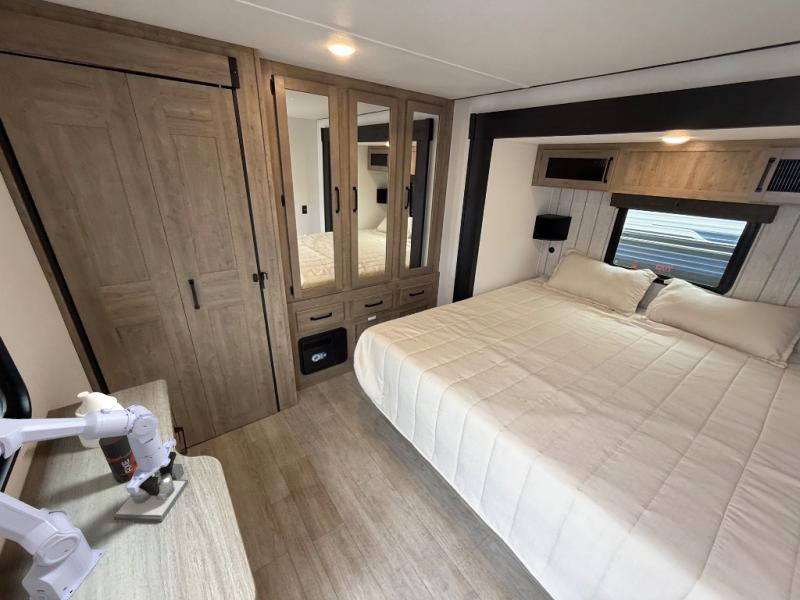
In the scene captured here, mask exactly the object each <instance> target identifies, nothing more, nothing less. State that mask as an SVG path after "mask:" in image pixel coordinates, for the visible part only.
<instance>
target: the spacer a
mask: <svg viewBox="0 0 800 600" xmlns="http://www.w3.org/2000/svg"><path fill="white" fill-rule="evenodd" d="M129 494H130V496H131V497H132V499H133V502H134V503H135V504H141V503H143V502H146V501H147V500H148V499H150V498H151V497H152V496H150V495H149V494H148V493H147V492H146V491H144V490H143V489H141V488H139V490H138V492H137V493H129Z"/></svg>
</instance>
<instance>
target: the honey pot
mask: <svg viewBox="0 0 800 600" xmlns="http://www.w3.org/2000/svg"><path fill="white" fill-rule="evenodd" d="M77 398H78V399H79V400H83V401H82V403H81V405H80V406H79V407H78V408H77V409H76V410H75V412H74V414H75V418H82V417H84V416H85V415H87V414H88V413H90V412H93V411H100V410H101V409H102V408H108V409H109V410H110V411H111V410H124V409H125V408H124V407H123V406H122V404H120V403H119V402H118V400H117V398H116V397H114V396H111V395H106V394H104V393H102V392H97V391H96V392H89V391H87V390H86V391H81V392H79V393H78V394H77ZM77 437H78V438H79V441H80V443H81V445H82V446H83V447H84V448H87V449H88V448H89V449H95V448H101V447H100V445H99V440H100V438H98V439H89V440H85V439H83V438H82V437H81V436H80V435H77Z"/></svg>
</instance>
